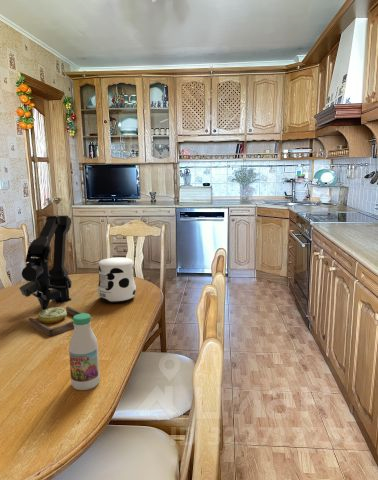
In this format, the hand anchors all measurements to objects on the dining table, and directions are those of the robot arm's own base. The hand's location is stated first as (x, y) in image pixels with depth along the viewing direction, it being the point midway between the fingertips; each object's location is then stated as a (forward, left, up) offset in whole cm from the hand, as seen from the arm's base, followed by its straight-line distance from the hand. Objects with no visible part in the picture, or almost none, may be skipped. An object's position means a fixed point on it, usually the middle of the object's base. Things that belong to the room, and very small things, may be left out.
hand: (44, 310), depth 149 cm
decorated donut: (0, +6, -3) cm, 6 cm away
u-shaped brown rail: (0, +11, -2) cm, 12 cm away
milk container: (-32, +7, -3) cm, 33 cm away
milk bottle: (+17, +55, -3) cm, 57 cm away
